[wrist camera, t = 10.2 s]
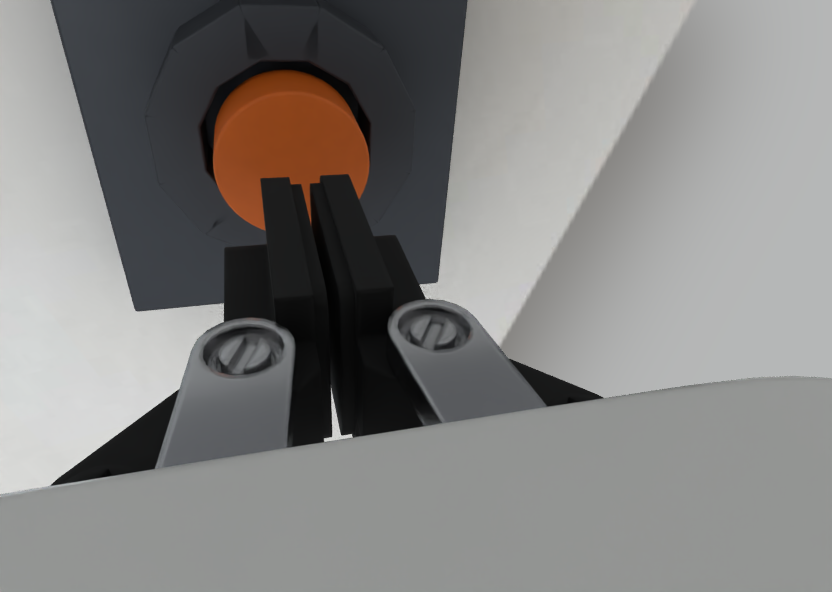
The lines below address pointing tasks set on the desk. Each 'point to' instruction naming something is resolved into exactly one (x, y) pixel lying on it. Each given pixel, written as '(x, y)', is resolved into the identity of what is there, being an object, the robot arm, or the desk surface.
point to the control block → (213, 82)
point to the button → (284, 139)
